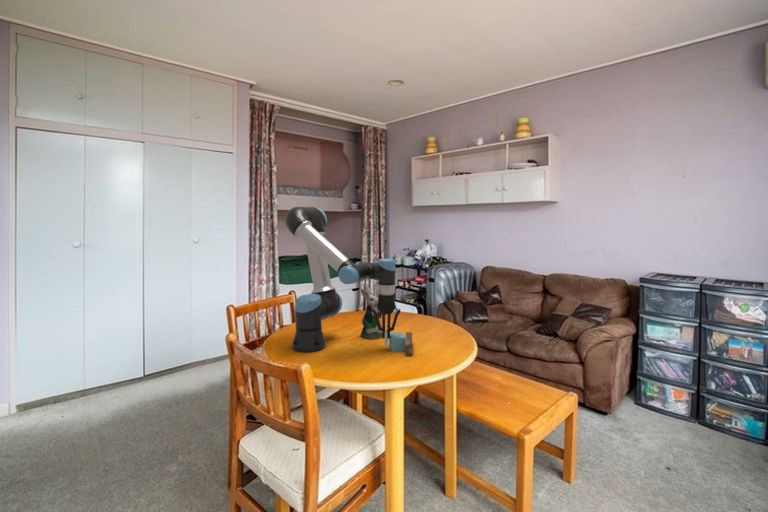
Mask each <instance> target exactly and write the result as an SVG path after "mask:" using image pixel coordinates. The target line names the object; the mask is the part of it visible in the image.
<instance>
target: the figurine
mask: <svg viewBox="0 0 768 512" xmlns="http://www.w3.org/2000/svg"><path fill="white" fill-rule="evenodd" d="M360 293H361V296H362V297H363V298H365V300H366V301H365V302H366V303H365V304H366V307H365V313H364V314H363V317H362V319H361V324H362V326H363V327H362V330H361V332H360V337H361V338H362V339H366V340H376V339H380V338H382V331H380V330H378V326H377V322H376V318H375V315H374V313H373V312H372V310H373V308H376V307H377V305H378V296H377V297H376V296H375V295H372V290H371V289H370V287H369V286H368V285H365V286H364V288H360ZM377 313H378V316H379V320H380V319H381V320H382V314H381V313H380V311H379V310H378V312H377Z"/></svg>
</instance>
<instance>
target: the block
mask: <svg viewBox="0 0 768 512" xmlns="http://www.w3.org/2000/svg"><path fill="white" fill-rule="evenodd" d="M405 338H406V335H404V333H403V332H402V331H401V332H398V331H396V332H395V331H394V332H390V338H389V339H388V345H389V348H390V351H391V353H398V352H401V351H402V352H405Z"/></svg>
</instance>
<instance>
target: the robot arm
mask: <svg viewBox="0 0 768 512" xmlns="http://www.w3.org/2000/svg"><path fill="white" fill-rule="evenodd" d="M284 219H285V221H284V222H285V225H286V228H287V229H288V231H289V232H290V234H291V235H293V236H294V237H295V238H296V239H301V241H303V242H304V243H305V249H306V253H307V258H308V264H309V270H310V276H311V280H312V286H313V289H312V291H311V292H310V293H308V294H303V295H300V296H298V297H297V298H296V299H295V300H294V301H295V302H294V316H295V319H294V320H295V321H294V322H295V332H294V336H293V340H292V343H291V345H292V347H291V348H292V350H293V351H295V352H300V353H312V352H317V351H321V350H324V349H325V348H326V347H327V340H326V337H325V335H324V331H323V329H322V328H323V326H322V324H323V323H322V321H323V320H325V319H328V318H331V317H334V316H336V315H337V314H339V313H340V312H341V310H342V307H343V299H342V296H341V294H339V292H338V291H336V287H335V286H333V285H332V280H331V275H330V270H329V266H330V267H331V268H332V270H334V271H335V272H337V274H338V278H339V281H340V282H341V283H342V284H344V285H351V284H352V285H353V284H356V283H358V282H362V281H366V280H376V281H378V282H377V283H378V285H377V286H378V287H377V292H378V294H377V298H378V304H377V305H376V306H377V307H376V308H373V310H372V312H373V313H374V315H375V318H376V322H377V327H378V330H380V331H381V332H382V337H381V338H382V340H383V339H384V347H386V348H387V347H388V340H389V338H390V333H391V332H393V331H394V330H395V327H396V323H397V320H398V317H399V315H400V314H401V311H402V310H401V309H400V308H398V307H397V304H396V294H395V293H396V270H397V269H396V260H395V259H393V258H379V259H378V262H367V261H357V262H355V263H354V262H352V261H351V260H350V259H349V258H348V257H347V256H346V255H344V253H342V252H341V251H340V250H339V249H338V248H337V247H336V246H335V245H334V244H333V243H331V242H330V240H328V239H327V238H326V237H325V236H324V235H325V234H326V231H325V230H326V229H325V228H326V226H327V224H328V218H327V215H326V213H325V211H324V210H323V209H321V208H319V207H315V206H295V207H292V208H290V209H289V210H288V211H287V212H286V214H285V217H284ZM378 310H379V311H380V313H381V314H382V315H381V321H380V319H379V316H378V313H377V312H378ZM393 312H394V313H395V314H394V317H393V321H392V325H391V316H392V314H393ZM386 315H387V325H386ZM386 327H387V328H386Z"/></svg>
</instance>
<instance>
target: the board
mask: <svg viewBox="0 0 768 512" xmlns="http://www.w3.org/2000/svg"><path fill="white" fill-rule="evenodd" d="M404 352H405V353H404V354H405V355H404V356H405V357H413V332H411V331H406V332H405V351H404Z"/></svg>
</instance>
